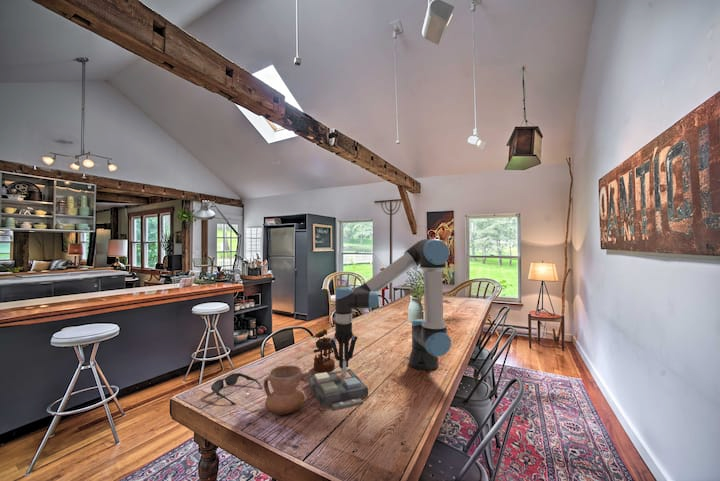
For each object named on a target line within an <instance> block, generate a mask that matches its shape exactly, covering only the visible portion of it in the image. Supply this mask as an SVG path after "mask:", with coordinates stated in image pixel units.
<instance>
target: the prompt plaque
mask: <svg viewBox="0 0 720 481" xmlns="http://www.w3.org/2000/svg"><path fill="white" fill-rule="evenodd" d="M360 404H364V401H363V399H362V398H355V399H351V400H346V401H342V402H338V403H333V404H331V405H330V406H331V409H332V410H333V411H336V410H340V409H343V408H347V407H351V406H357V405H360Z"/></svg>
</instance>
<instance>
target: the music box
mask: <svg viewBox="0 0 720 481" xmlns="http://www.w3.org/2000/svg"><path fill="white" fill-rule="evenodd" d="M327 336H328V330H327V329H326V328H325V329H323V330H321V331H319V332H317V333H316V334H314V335H311V338H312V339H314V338H315V339H316V341H315V349H313V353H314V354H315V356H314V358H313V361H314V362H313V370H314V372H316V373H318V374H319V373H324V372H327V373H330V372H334V370H335V369H336V364H335V363H336V362H335V360H334V359H333V358H331V354H333V353H334V351H333V347H332V343H331V342H330V337H327ZM317 353H318V354H317Z"/></svg>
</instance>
